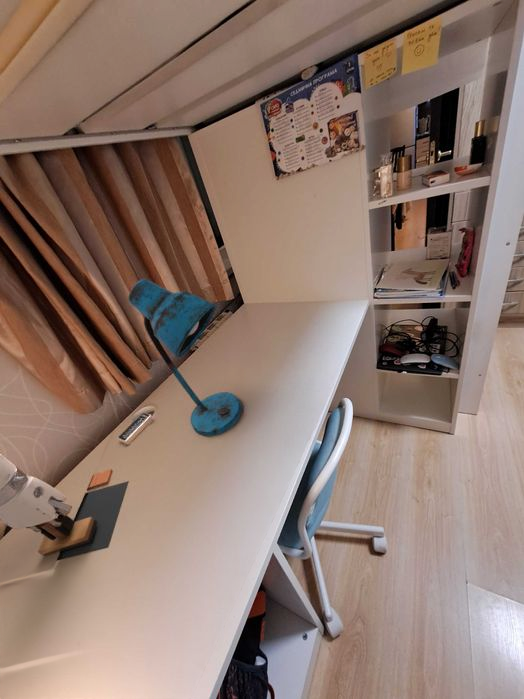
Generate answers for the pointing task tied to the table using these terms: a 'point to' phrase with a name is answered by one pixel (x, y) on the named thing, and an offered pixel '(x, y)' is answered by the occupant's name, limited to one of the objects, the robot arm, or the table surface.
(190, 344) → the desk lamp
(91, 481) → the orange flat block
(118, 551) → the table surface
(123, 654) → the table surface
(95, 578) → the table surface
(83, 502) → the mat
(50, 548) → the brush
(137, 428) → the multiport hub
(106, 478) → the orange square tile
